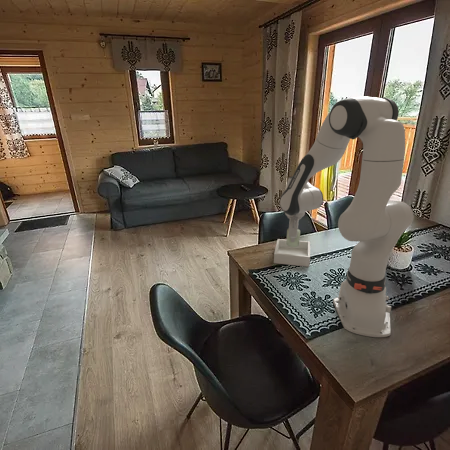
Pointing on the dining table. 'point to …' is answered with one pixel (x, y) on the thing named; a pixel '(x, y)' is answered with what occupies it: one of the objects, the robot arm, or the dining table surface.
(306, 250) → the bin
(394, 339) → the dining table surface
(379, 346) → the dining table surface
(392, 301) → the dining table surface
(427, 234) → the dining table surface
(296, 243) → the pale green rounded block
